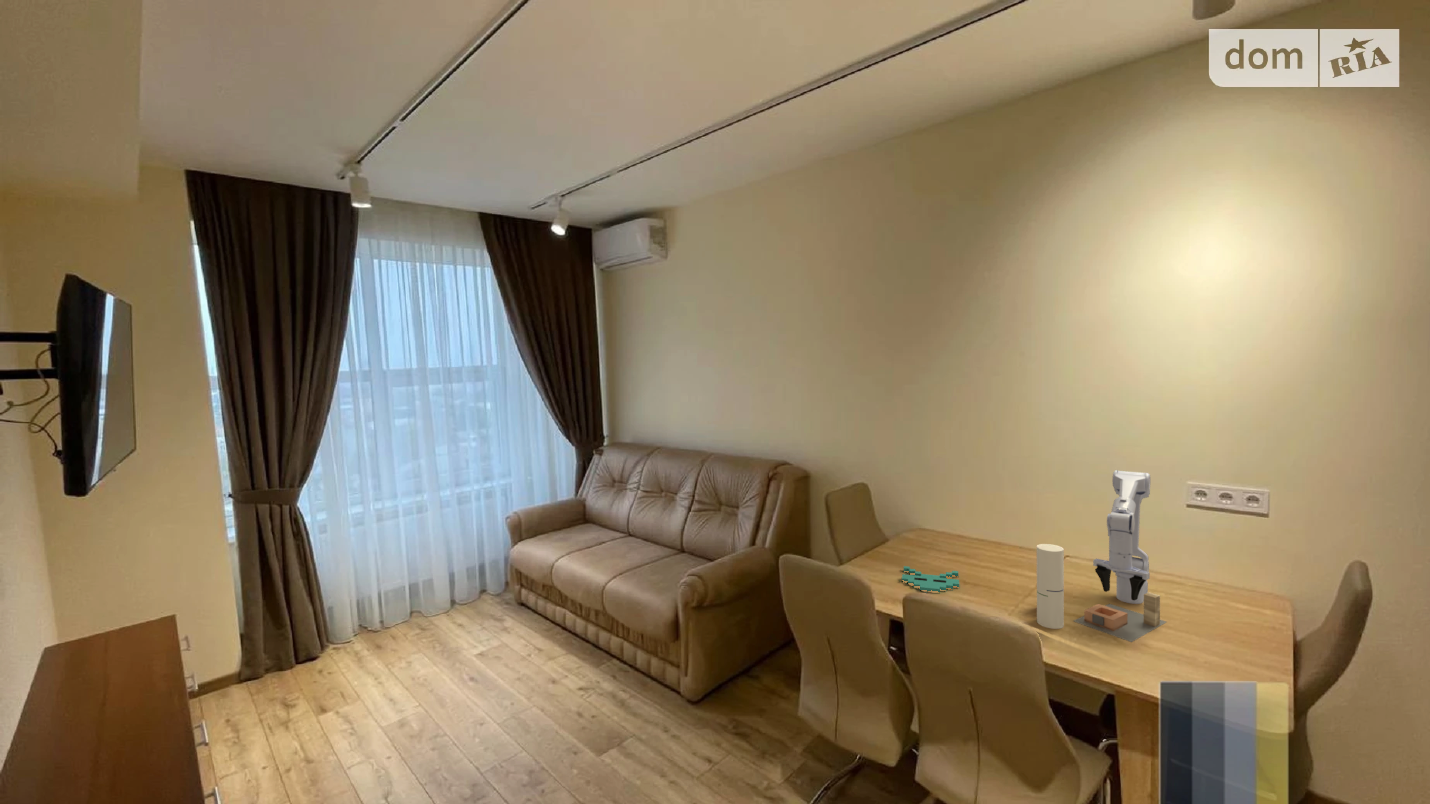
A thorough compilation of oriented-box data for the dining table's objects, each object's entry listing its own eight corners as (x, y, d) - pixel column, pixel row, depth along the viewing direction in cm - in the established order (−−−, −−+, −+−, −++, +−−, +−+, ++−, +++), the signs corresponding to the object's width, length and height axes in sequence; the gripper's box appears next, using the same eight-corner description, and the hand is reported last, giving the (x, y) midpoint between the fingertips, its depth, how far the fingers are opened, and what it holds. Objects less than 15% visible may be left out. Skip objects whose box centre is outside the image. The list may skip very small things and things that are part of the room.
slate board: (1109, 606, 185) (1109, 603, 185) (1167, 625, 171) (1167, 621, 171) (1072, 624, 174) (1072, 621, 174) (1131, 645, 160) (1131, 642, 160)
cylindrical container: (1063, 633, 168) (1063, 552, 167) (1036, 628, 172) (1036, 549, 170) (1063, 624, 174) (1063, 545, 173) (1037, 619, 178) (1037, 542, 176)
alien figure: (904, 571, 224) (900, 590, 205) (903, 566, 224) (900, 585, 205) (958, 576, 216) (959, 597, 198) (958, 571, 216) (959, 591, 198)
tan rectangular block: (1148, 620, 172) (1148, 592, 172) (1159, 624, 170) (1160, 595, 169) (1143, 623, 171) (1143, 594, 170) (1155, 626, 168) (1155, 597, 167)
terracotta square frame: (1099, 613, 178) (1099, 603, 178) (1128, 623, 171) (1128, 612, 171) (1083, 621, 173) (1083, 610, 173) (1112, 631, 166) (1112, 620, 166)
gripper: (1087, 548, 175) (1087, 590, 176) (1141, 561, 162) (1140, 606, 163) (1100, 543, 178) (1100, 585, 179) (1153, 556, 165) (1152, 600, 166)
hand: (1120, 595), depth 171 cm, fingers open, 7 cm apart
